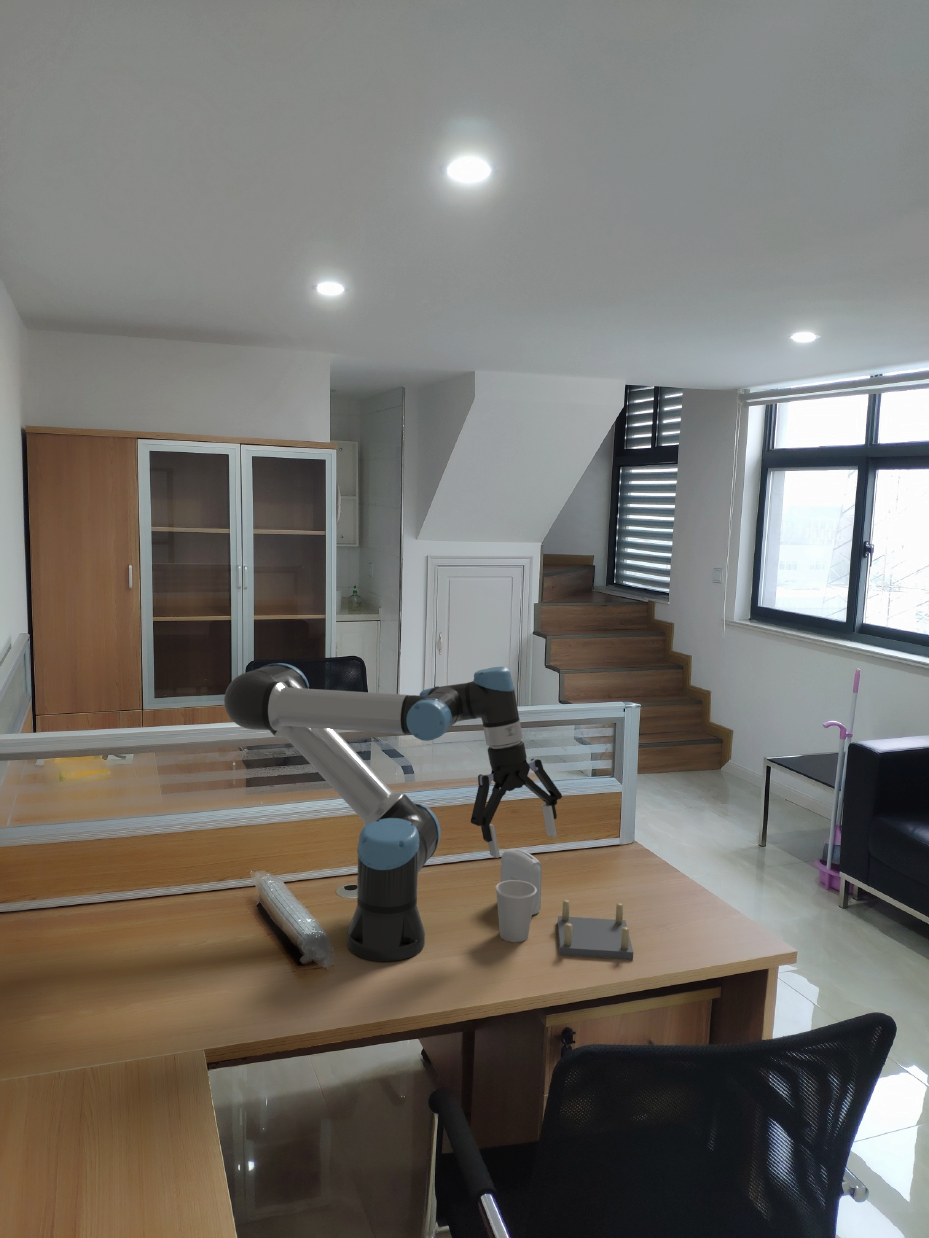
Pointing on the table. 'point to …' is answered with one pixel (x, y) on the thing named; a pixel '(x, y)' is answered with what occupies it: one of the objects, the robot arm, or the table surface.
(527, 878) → the photo printer
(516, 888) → the dixie cup
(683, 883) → the table surface
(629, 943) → the plate
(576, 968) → the table surface
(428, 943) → the table surface
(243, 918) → the table surface
